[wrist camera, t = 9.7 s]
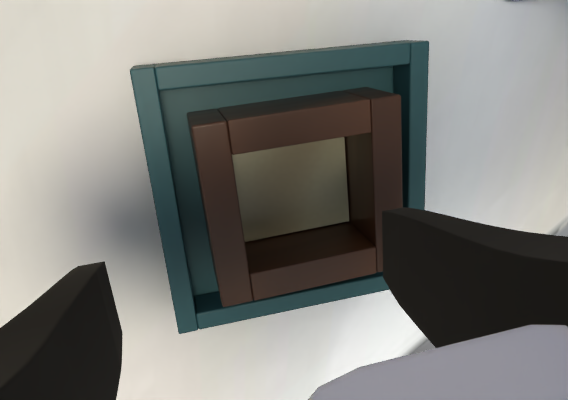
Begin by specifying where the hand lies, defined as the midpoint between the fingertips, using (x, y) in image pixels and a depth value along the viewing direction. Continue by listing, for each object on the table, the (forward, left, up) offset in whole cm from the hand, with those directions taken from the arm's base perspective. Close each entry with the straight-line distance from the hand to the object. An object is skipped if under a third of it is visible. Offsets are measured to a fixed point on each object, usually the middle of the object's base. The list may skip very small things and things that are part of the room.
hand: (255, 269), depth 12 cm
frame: (-3, 0, -8) cm, 8 cm away
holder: (-3, +1, -8) cm, 9 cm away
